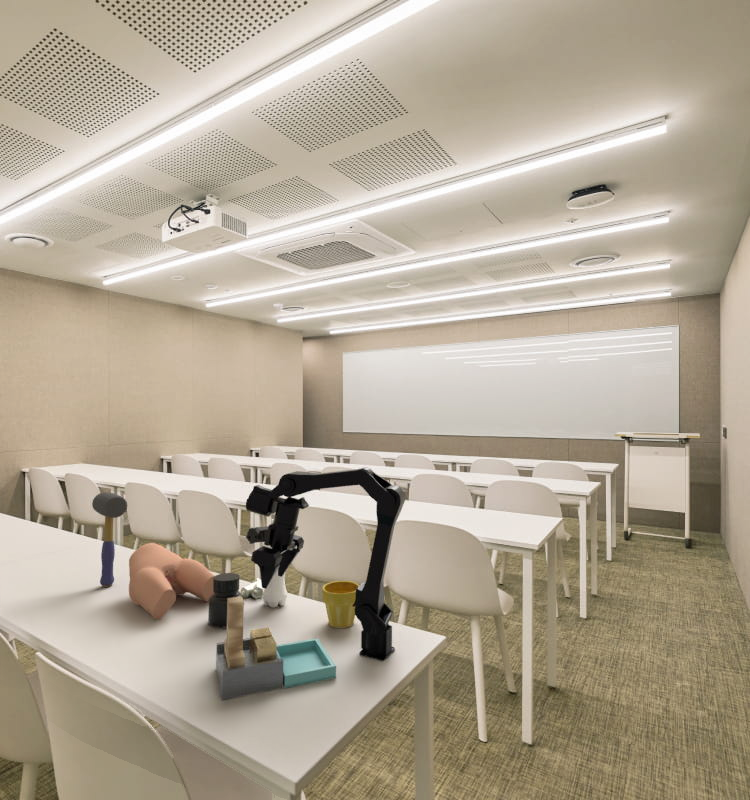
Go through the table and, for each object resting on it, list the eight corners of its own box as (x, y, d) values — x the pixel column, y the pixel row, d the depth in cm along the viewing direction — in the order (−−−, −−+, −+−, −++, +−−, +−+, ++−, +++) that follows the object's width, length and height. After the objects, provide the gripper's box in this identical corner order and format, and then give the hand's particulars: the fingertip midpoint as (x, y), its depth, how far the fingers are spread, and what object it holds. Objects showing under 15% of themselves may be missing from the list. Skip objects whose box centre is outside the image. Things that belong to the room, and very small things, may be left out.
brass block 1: (268, 645, 110) (268, 627, 110) (271, 653, 106) (272, 634, 106) (250, 648, 108) (250, 630, 108) (253, 656, 104) (253, 637, 104)
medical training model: (148, 635, 131) (157, 592, 129) (107, 588, 146) (114, 549, 144) (214, 611, 148) (223, 573, 146) (171, 571, 162) (179, 535, 160)
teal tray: (317, 648, 116) (317, 638, 117) (335, 677, 104) (336, 666, 104) (271, 657, 112) (271, 646, 112) (284, 688, 99) (285, 676, 99)
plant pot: (313, 622, 131) (314, 586, 132) (342, 612, 139) (343, 577, 139) (338, 635, 124) (339, 596, 124) (367, 623, 131) (368, 587, 131)
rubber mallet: (126, 587, 156) (129, 494, 157) (101, 594, 150) (104, 496, 151) (112, 578, 164) (114, 489, 165) (87, 584, 158) (90, 492, 159)
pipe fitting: (240, 602, 147) (263, 598, 149) (239, 589, 147) (262, 585, 149) (241, 592, 155) (262, 589, 156) (240, 580, 155) (262, 577, 156)
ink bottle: (250, 617, 134) (250, 573, 135) (232, 630, 126) (233, 583, 126) (219, 613, 137) (220, 570, 137) (200, 625, 128) (201, 580, 129)
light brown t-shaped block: (238, 648, 107) (239, 591, 108) (244, 669, 99) (246, 606, 99) (224, 651, 106) (225, 593, 106) (229, 672, 97) (230, 608, 98)
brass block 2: (272, 655, 105) (272, 636, 105) (276, 664, 101) (276, 644, 101) (253, 658, 103) (254, 639, 103) (256, 667, 100) (257, 648, 100)
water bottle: (288, 599, 148) (290, 517, 148) (285, 609, 140) (286, 522, 141) (265, 599, 147) (266, 516, 148) (260, 609, 140) (262, 521, 141)
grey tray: (270, 658, 112) (271, 634, 112) (282, 687, 100) (283, 660, 100) (215, 668, 107) (216, 643, 107) (222, 700, 95) (222, 671, 95)
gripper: (272, 506, 133) (260, 562, 133) (238, 520, 114) (224, 584, 115) (309, 517, 130) (297, 573, 130) (280, 533, 112) (266, 599, 112)
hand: (272, 581), depth 122 cm, fingers open, 9 cm apart
